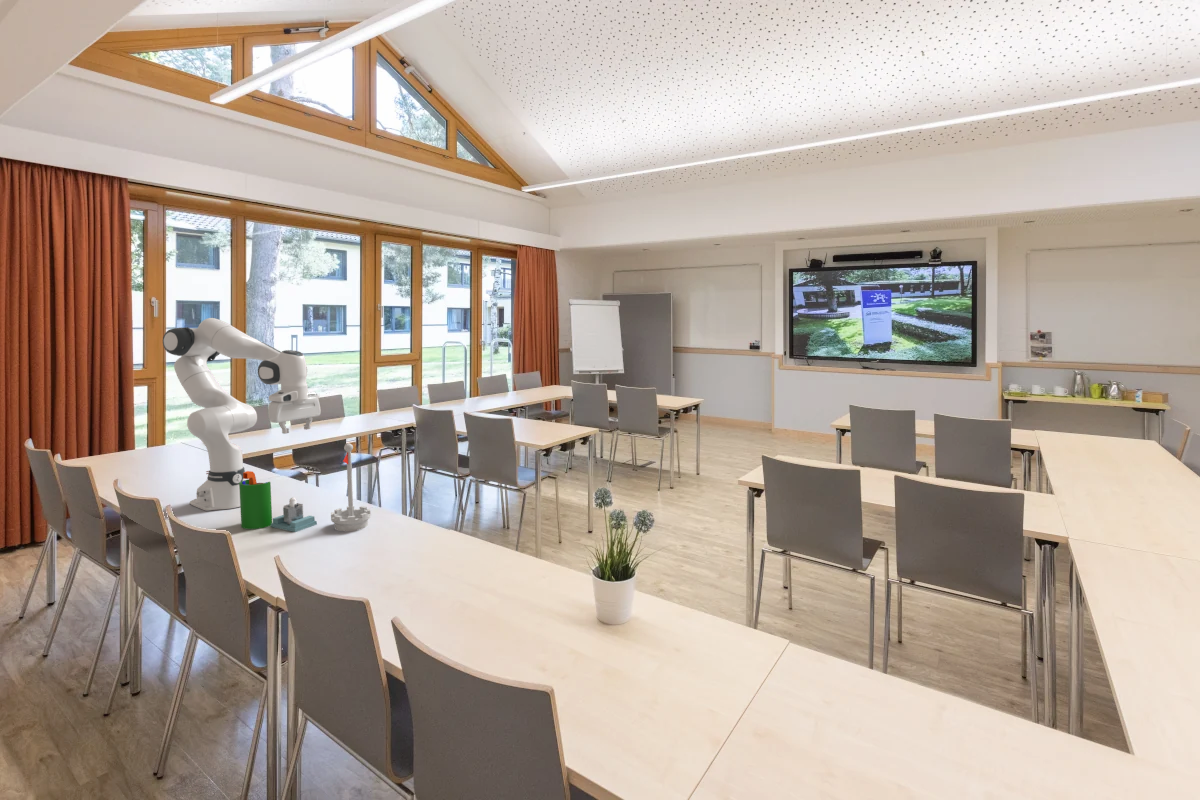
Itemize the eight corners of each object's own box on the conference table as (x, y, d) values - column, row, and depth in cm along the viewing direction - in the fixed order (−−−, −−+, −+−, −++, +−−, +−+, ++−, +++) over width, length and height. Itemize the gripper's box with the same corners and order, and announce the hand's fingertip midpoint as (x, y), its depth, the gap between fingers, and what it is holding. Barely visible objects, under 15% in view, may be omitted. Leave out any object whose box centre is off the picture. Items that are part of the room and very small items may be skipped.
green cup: (277, 521, 223) (275, 467, 220) (262, 530, 214) (258, 474, 212) (251, 520, 224) (248, 466, 221) (234, 528, 215) (231, 472, 213)
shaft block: (271, 526, 218) (269, 498, 216) (292, 519, 226) (291, 492, 225) (295, 532, 213) (293, 503, 212) (316, 524, 221) (315, 496, 220)
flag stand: (340, 519, 227) (337, 439, 223) (376, 520, 227) (373, 440, 223) (325, 532, 214) (321, 447, 210) (363, 532, 214) (360, 447, 210)
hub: (280, 520, 218) (279, 507, 217) (294, 515, 223) (294, 502, 222) (292, 523, 215) (291, 509, 215) (306, 518, 221) (306, 504, 220)
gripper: (311, 391, 239) (313, 426, 241) (264, 396, 221) (266, 434, 223) (323, 392, 237) (325, 427, 239) (276, 398, 218) (278, 436, 220)
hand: (296, 431), depth 231 cm, fingers open, 8 cm apart
